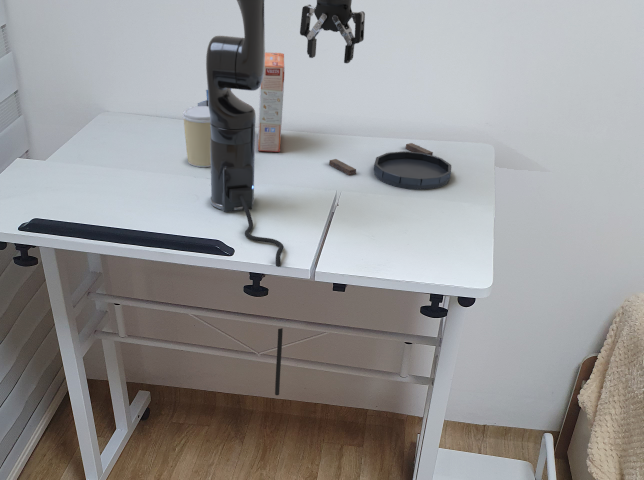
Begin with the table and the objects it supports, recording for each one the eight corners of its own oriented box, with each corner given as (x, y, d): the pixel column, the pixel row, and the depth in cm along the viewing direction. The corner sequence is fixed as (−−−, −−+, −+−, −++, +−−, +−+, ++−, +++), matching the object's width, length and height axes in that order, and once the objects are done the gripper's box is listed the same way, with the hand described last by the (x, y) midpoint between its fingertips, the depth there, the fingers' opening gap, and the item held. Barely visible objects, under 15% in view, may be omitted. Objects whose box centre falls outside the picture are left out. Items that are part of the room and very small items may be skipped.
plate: (463, 185, 169) (465, 174, 167) (394, 192, 164) (395, 181, 163) (426, 159, 183) (428, 149, 181) (361, 165, 178) (363, 154, 176)
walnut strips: (432, 156, 184) (433, 152, 183) (349, 175, 172) (349, 170, 171) (411, 147, 189) (411, 142, 189) (329, 164, 177) (329, 160, 176)
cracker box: (281, 153, 183) (285, 65, 170) (257, 152, 183) (259, 64, 170) (281, 135, 194) (284, 52, 182) (258, 134, 194) (261, 51, 182)
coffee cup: (225, 156, 180) (225, 106, 173) (219, 169, 172) (219, 118, 165) (188, 153, 180) (186, 104, 173) (181, 167, 173) (179, 116, 166)
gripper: (297, -23, 152) (293, 59, 162) (361, -16, 147) (353, 68, 157) (312, -28, 157) (307, 52, 167) (373, -21, 152) (365, 60, 162)
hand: (329, 59), depth 162 cm, fingers open, 8 cm apart
